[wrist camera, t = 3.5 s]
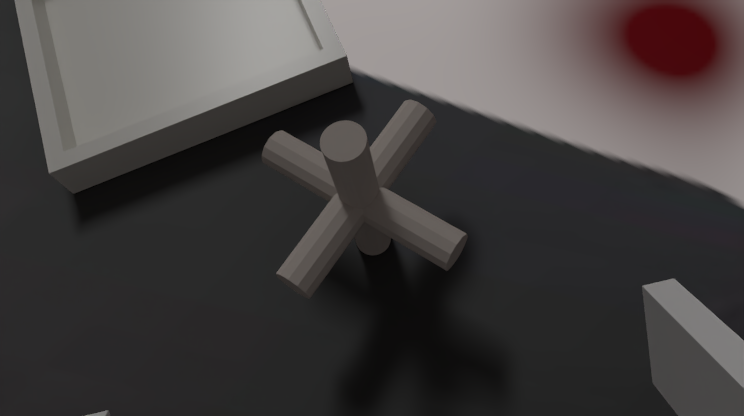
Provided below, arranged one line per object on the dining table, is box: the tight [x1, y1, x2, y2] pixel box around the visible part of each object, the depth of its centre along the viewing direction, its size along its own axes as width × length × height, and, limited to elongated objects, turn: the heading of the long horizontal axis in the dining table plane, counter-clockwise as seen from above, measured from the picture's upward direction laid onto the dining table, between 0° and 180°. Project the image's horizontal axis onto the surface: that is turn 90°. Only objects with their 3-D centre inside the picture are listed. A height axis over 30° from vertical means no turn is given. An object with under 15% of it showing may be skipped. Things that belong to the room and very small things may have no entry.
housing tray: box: [15, 0, 353, 194], centre depth 41 cm, size 17×17×2 cm
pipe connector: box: [262, 100, 468, 299], centre depth 30 cm, size 10×10×10 cm
